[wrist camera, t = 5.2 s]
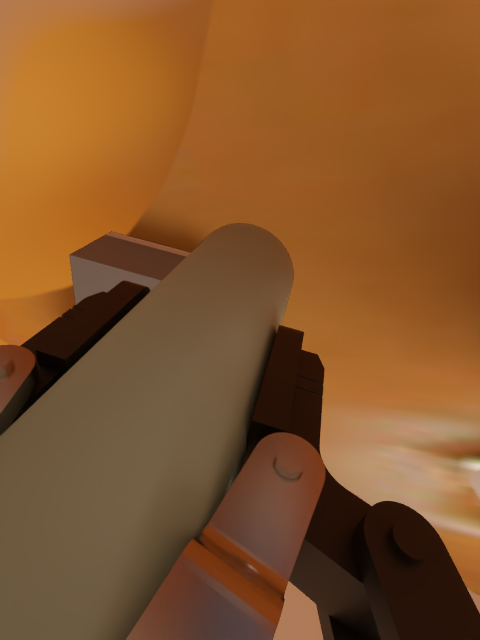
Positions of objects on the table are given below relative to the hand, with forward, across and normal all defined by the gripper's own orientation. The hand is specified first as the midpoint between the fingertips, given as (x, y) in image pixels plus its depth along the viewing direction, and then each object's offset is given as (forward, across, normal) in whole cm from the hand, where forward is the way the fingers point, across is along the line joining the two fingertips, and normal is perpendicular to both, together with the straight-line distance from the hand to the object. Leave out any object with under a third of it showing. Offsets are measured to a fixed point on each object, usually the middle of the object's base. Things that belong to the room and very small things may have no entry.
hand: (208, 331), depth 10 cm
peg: (+4, 0, 0) cm, 4 cm away
